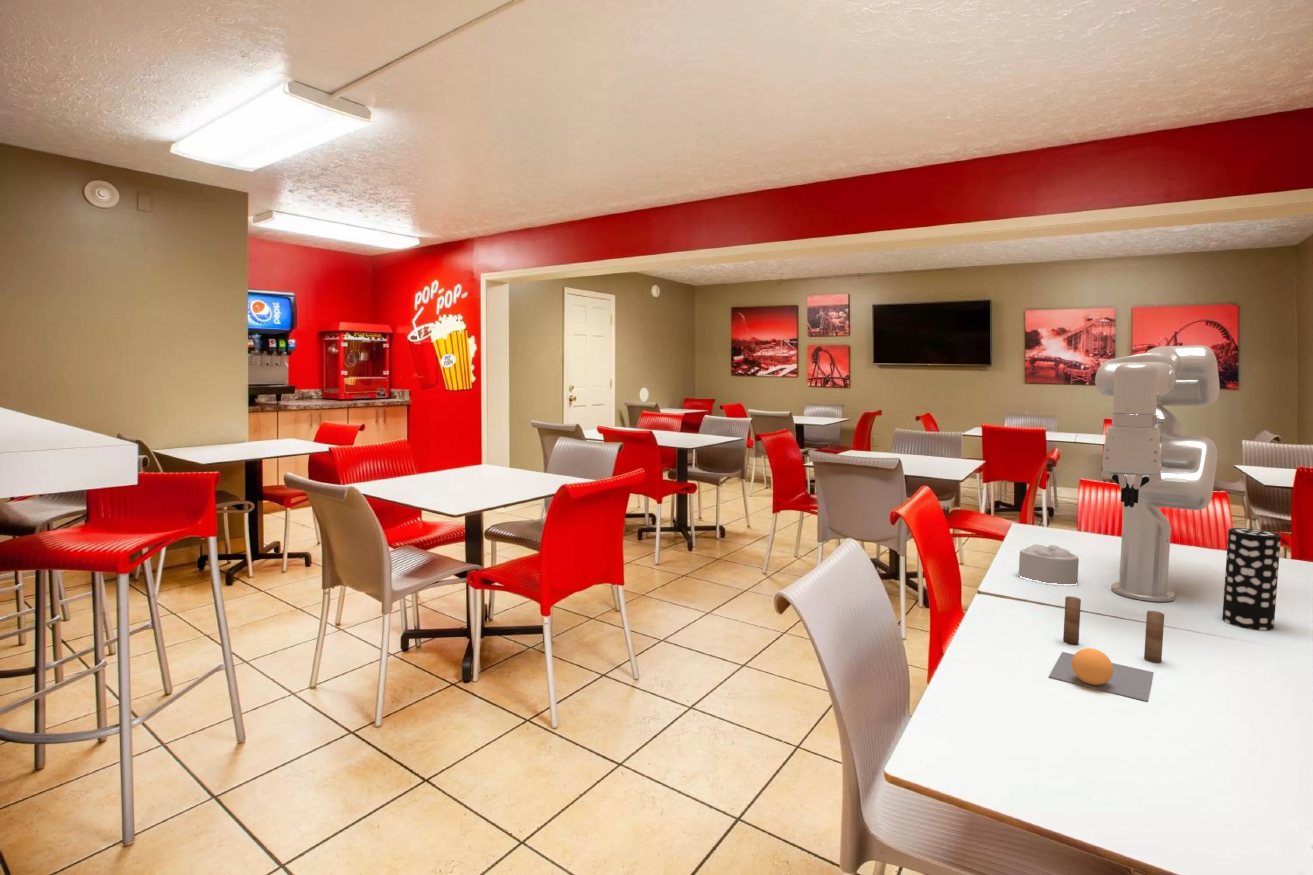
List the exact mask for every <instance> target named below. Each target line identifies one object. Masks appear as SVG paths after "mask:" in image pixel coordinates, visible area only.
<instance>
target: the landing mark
mask: <svg viewBox="0 0 1313 875" xmlns="http://www.w3.org/2000/svg"><path fill="white" fill-rule="evenodd" d="M1074 655H1075V653H1069V652H1065V651H1062V652H1061V653H1060V656H1059V657H1058V658H1057V661H1056V662H1055V664H1054V666H1053V668H1052V670H1051V671H1050V673H1049V675H1048V678H1049V679H1054V680H1057V681H1061V682H1064V683H1070V684H1073V685H1078V686H1081V687H1086V688H1090V689H1094V690H1097V691H1102V692H1106V693H1109V694H1113V695H1118V696H1122V697H1126V698H1130V699H1134V700H1138V701H1143V702H1146V703H1148V702H1149V698H1150V694H1151V693H1150V692H1151V687H1152V683H1153V682H1152V681H1153V676H1154V672H1153V671H1150V670H1144V669H1140V668H1137V667H1132V666H1127V665H1122V664H1119V663H1115V662H1112V665H1113V675H1112V677H1111V679H1110V680H1109V681H1108V682H1106V683H1104V684H1101V685H1091V684H1087V683H1085V682H1083V681H1082V680H1080V679H1079V678H1078V677H1077V676H1076V675H1075V673H1074V671H1073V669H1072V658H1073V656H1074Z"/></svg>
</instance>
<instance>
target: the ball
mask: <svg viewBox="0 0 1313 875" xmlns="http://www.w3.org/2000/svg"><path fill="white" fill-rule="evenodd" d="M1112 663H1113V662H1112V661H1111V659H1110V658H1109V657H1108V656H1107V655H1106V654H1105V653H1104V652H1102V651H1101V650H1099V649H1096V648H1092V647H1091V648H1090V647H1088V648H1087V647H1086V648H1082V649H1079V650H1078V651H1076V652H1075V653H1074V656H1073V658H1072V669H1073V671H1074V673H1075V675H1076V676H1077V677H1078V678H1079V679H1080V680H1082V681H1083V682H1085V683H1087V684H1091V685H1101V684H1104V683H1106V682H1108V681H1109V680H1110V679H1111V677H1112V675H1113V665H1112Z"/></svg>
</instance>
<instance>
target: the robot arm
mask: <svg viewBox="0 0 1313 875" xmlns="http://www.w3.org/2000/svg"><path fill="white" fill-rule="evenodd" d="M1094 381H1095V382H1094V384H1095V387H1096V389H1097V391H1098V392H1099V393H1100V394H1101V395H1103V396H1108V397H1110V396H1111V397H1113V399H1112V415H1111V417H1112V418H1111V419H1112V420H1111V426H1108V428H1107V430H1106V434H1105V439H1104V440H1105V441H1104V446H1103V451H1102V452H1103V453H1102V454H1103V455H1102V470H1101V472H1100V476H1101V477H1102V478H1104V479H1108V480H1112V481H1114V482H1115V483H1116V484H1117V485H1118V486H1119V487H1120V502H1121V503H1122V526H1121V544H1120V546H1121V547H1120V559H1119V560H1120V561H1119V563H1120V564H1119V579H1118V581H1117V582H1113V583H1112V584H1111V587H1110V588H1111V589H1110V590H1111V591H1112V592H1114V593H1115V594H1117V595H1120V596H1123V597H1126V598H1130V599H1135V600H1140V601H1145V602H1146V601H1147V602H1159V603H1161V602H1162V603H1165V602H1172V601H1174V600H1175V597H1176V594H1175V592H1173V591H1172V590H1170V589H1168V581H1169V580H1168V579H1169V566H1170V565H1169V563H1170V551H1171V549H1170V548H1171V534H1172V527H1171V524H1170V520H1168V518H1167V517H1166V515H1165V514H1164V513H1163V512H1162V511H1161V509H1160V508H1170V509H1177V510H1186V511H1187V510H1188V511H1199V510H1200V511H1202V510H1204V509H1206V508H1208V506H1209V505H1210V503H1211V501H1212V498H1213V492H1214V487H1215V486H1214V485H1215V478H1216V471H1217V466H1218V465H1217V463H1218V449H1217V445H1216V443H1215V442H1214V441H1213V440H1212V439H1211V438H1209V437H1207V436H1202V435H1185V434H1182V432H1183V424H1182V422H1181V420H1180V419H1178V417H1177V416H1176V415H1175V414H1173V413H1172V412H1171V411H1170V410H1168V409H1167V408H1165V407H1167V406H1168V407H1171V406H1173V407H1176V406H1177V407H1207V406H1211V405H1213V404H1215V402H1216V401H1217V400H1218V398H1219V395H1220V387H1221V386H1220V377H1219V366H1218V360H1217V357H1216V355H1215V352H1214V351H1213V350H1212V349H1211V348H1210V347H1209V346H1206V345H1204V344H1203V345H1202V344H1201V345H1200V344H1196V345H1167V346H1165V345H1162V346H1157V347H1154V348H1153V347H1152V348H1150V349H1149V350H1148V351H1146V352H1144V353H1138V354H1133V355H1129V356H1122V357H1121V356H1120V357H1117V358H1111V359H1108V360H1106V361H1104V362H1103V363H1102V364H1101V365H1099V367H1098V369H1097V370H1096V374H1095V380H1094ZM1164 406H1165V407H1164Z"/></svg>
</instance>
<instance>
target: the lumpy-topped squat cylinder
mask: <svg viewBox="0 0 1313 875" xmlns="http://www.w3.org/2000/svg"><path fill="white" fill-rule="evenodd" d="M1018 563H1019V564H1018V565H1019V566H1018V576H1019V575H1020V576H1022V577H1025V578H1029V579H1032V580H1038V581H1041V582H1046V583H1057V584H1076V583H1077V584H1078V580H1079V579H1078V578H1079V556H1077V555H1076V554H1073V553H1072V552H1070V551H1069V550H1068V549H1066V548H1061V547H1060V546H1058V545H1054V544H1050V545H1049V546H1045V545H1041V544H1033V545H1031V546H1027V547H1026V548H1023V549H1021V550H1019V562H1018Z"/></svg>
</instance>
